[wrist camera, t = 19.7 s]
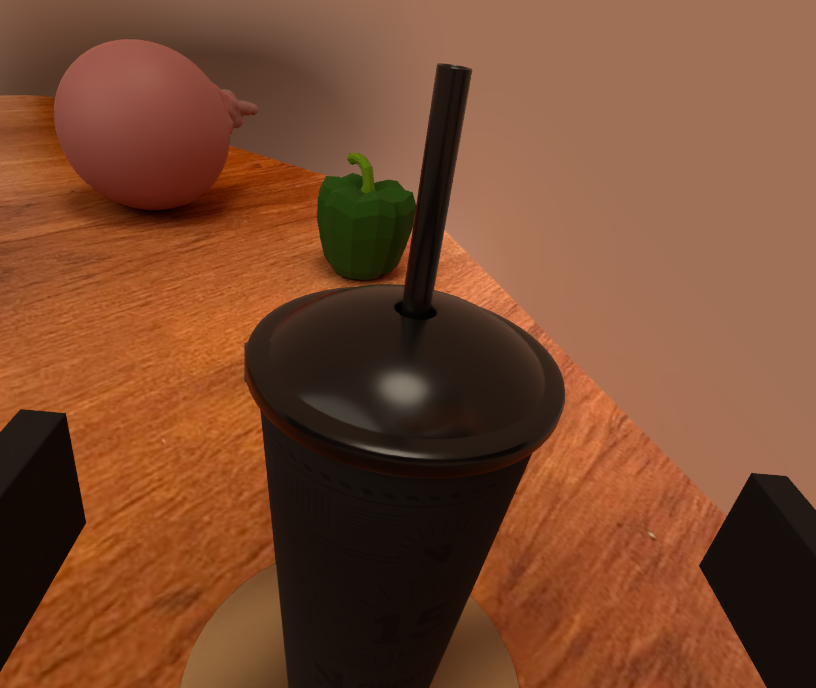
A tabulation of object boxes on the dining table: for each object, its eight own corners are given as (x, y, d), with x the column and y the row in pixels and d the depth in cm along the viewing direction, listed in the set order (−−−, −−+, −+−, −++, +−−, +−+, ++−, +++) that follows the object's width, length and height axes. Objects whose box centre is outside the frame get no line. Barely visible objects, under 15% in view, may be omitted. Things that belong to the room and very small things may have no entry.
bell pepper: (418, 288, 52) (436, 174, 47) (327, 291, 49) (337, 170, 44) (387, 251, 59) (400, 149, 54) (305, 252, 56) (311, 143, 51)
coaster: (592, 770, 20) (596, 762, 20) (237, 1027, 14) (237, 1021, 14) (412, 520, 29) (414, 513, 28) (145, 613, 23) (144, 605, 22)
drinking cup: (215, 636, 22) (191, 21, 12) (392, 561, 26) (484, 55, 16) (298, 864, 16) (382, 92, 6) (506, 725, 20) (752, 116, 10)
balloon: (295, 216, 64) (302, 62, 57) (100, 242, 51) (75, 46, 44) (226, 177, 73) (225, 39, 66) (46, 190, 61) (18, 21, 53)
